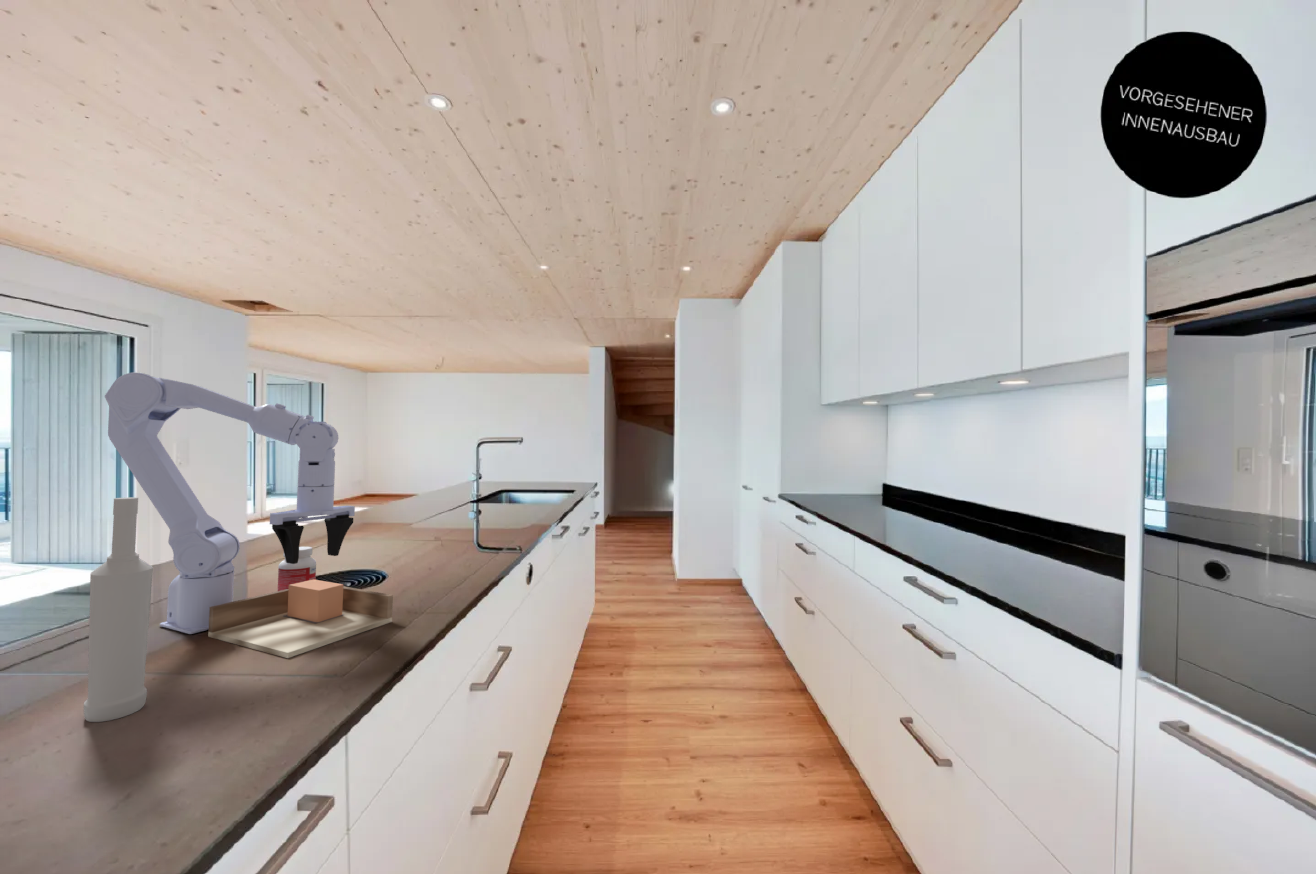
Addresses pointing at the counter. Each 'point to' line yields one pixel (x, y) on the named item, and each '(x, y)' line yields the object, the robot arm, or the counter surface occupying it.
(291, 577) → the pill bottle
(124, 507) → the bottle
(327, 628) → the tray
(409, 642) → the counter surface
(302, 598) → the block
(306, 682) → the counter surface
